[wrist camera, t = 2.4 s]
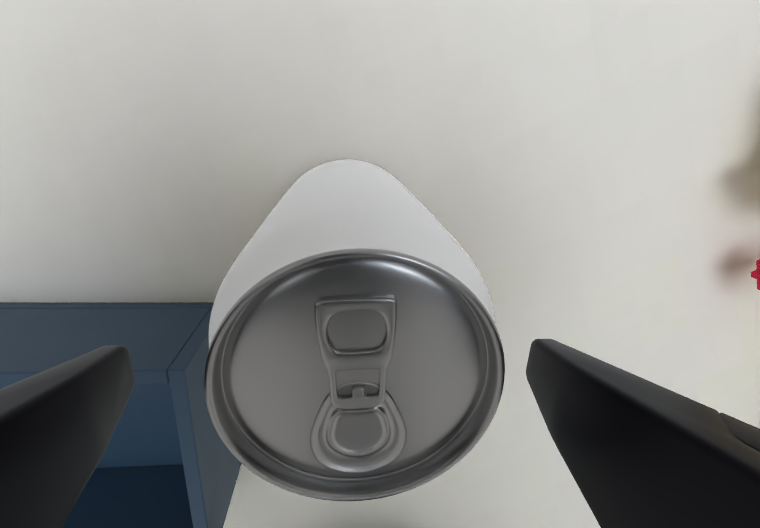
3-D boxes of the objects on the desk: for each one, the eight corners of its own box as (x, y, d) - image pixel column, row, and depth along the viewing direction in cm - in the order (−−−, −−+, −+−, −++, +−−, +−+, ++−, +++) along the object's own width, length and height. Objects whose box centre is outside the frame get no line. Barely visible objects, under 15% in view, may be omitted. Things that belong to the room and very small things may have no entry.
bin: (227, 302, 19) (184, 370, 14) (242, 461, 23) (212, 563, 17) (-48, 302, 18) (-208, 376, 13) (13, 470, 21) (-94, 583, 16)
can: (284, 293, 19) (207, 530, 8) (272, 158, 17) (141, 229, 6) (413, 288, 20) (507, 503, 9) (417, 156, 18) (551, 219, 6)
